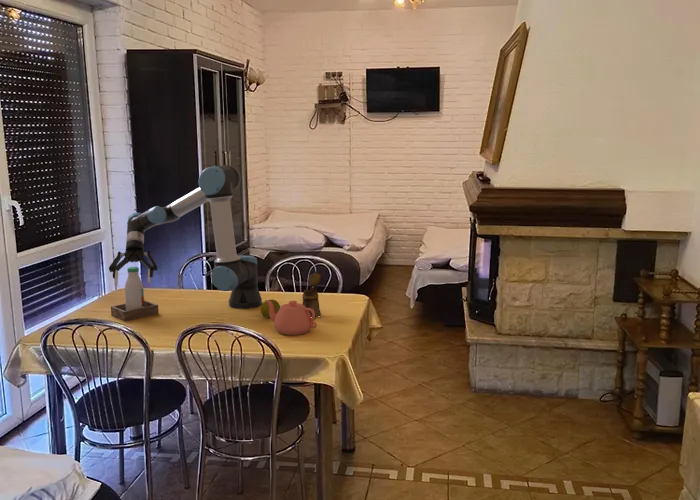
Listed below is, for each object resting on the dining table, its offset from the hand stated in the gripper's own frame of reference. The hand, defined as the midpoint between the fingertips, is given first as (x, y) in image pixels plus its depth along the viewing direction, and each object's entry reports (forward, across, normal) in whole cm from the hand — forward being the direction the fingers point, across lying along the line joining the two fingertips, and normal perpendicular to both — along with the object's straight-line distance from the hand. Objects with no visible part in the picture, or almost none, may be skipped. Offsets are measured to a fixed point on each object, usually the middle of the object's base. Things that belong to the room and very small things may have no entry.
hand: (132, 283), depth 274 cm
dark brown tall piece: (+19, -77, -1) cm, 79 cm away
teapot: (+34, -65, +14) cm, 75 cm away
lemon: (+20, -58, 0) cm, 62 cm away
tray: (+9, 0, -11) cm, 14 cm away
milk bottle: (+9, 0, -10) cm, 13 cm away
